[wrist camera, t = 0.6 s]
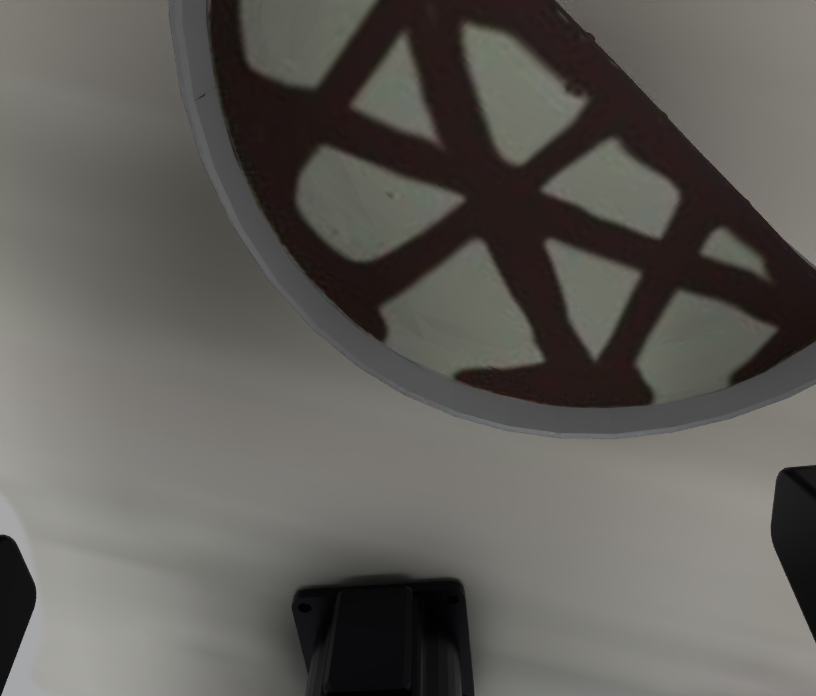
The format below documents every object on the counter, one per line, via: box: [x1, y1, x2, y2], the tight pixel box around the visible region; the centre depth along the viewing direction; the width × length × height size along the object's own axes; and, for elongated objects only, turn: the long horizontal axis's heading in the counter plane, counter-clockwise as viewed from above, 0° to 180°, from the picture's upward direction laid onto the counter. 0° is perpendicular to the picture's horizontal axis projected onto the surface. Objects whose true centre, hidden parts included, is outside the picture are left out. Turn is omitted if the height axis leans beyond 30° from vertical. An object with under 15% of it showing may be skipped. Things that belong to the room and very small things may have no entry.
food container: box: [169, 0, 816, 439], centre depth 14 cm, size 12×6×10 cm, turn 50°
